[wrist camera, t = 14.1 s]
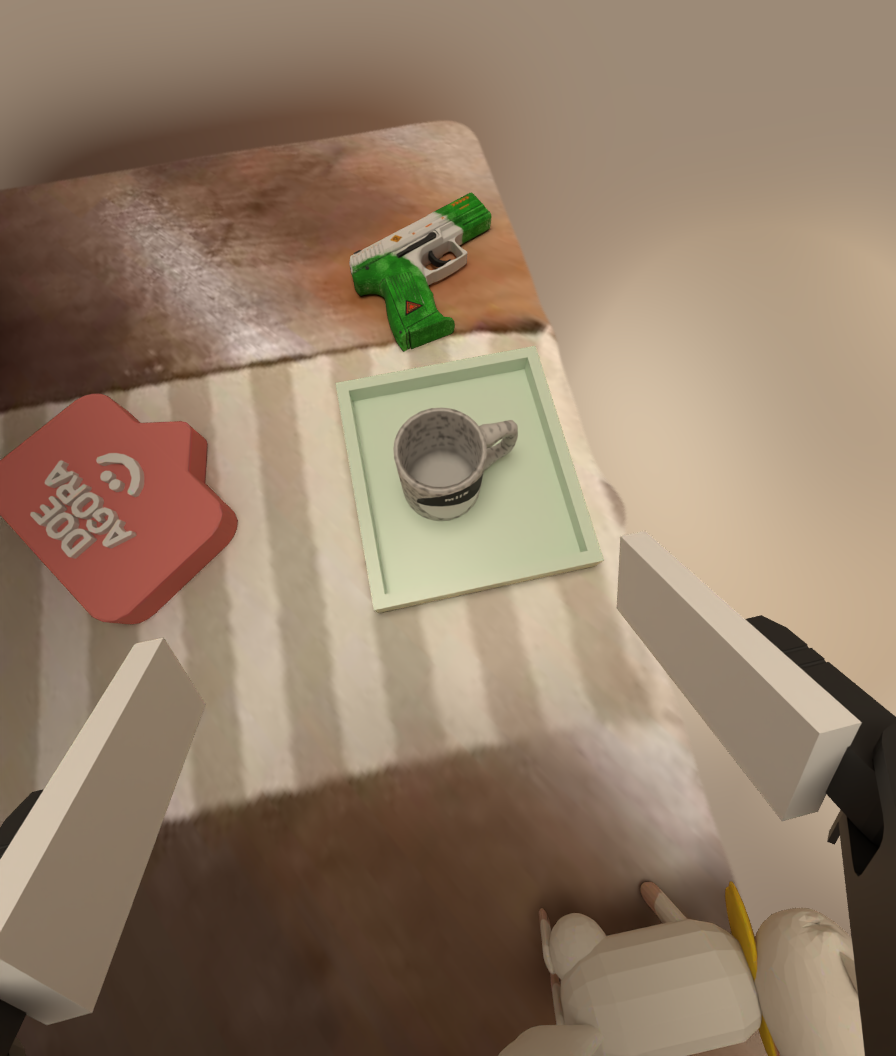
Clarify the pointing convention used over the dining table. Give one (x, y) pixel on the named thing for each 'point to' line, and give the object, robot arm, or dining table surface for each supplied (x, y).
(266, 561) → the dining table surface
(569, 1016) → the toy
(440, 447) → the mug
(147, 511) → the plaque
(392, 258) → the handgun
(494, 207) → the dining table surface
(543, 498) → the tray
